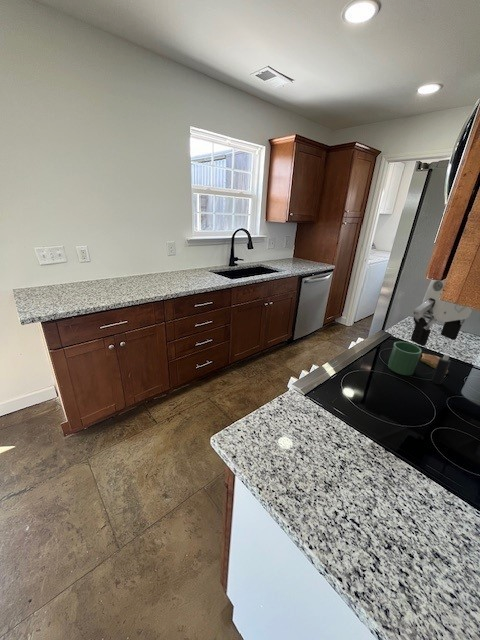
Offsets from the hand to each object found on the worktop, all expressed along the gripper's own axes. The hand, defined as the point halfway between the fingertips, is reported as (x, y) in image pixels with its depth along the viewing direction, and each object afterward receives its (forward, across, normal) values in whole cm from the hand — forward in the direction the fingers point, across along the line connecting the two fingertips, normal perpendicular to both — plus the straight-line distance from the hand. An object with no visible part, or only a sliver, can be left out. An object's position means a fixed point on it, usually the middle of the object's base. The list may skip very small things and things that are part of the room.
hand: (433, 340), depth 61 cm
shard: (+27, +41, +19) cm, 53 cm away
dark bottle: (+27, +30, +12) cm, 42 cm away
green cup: (+27, +25, +22) cm, 42 cm away
